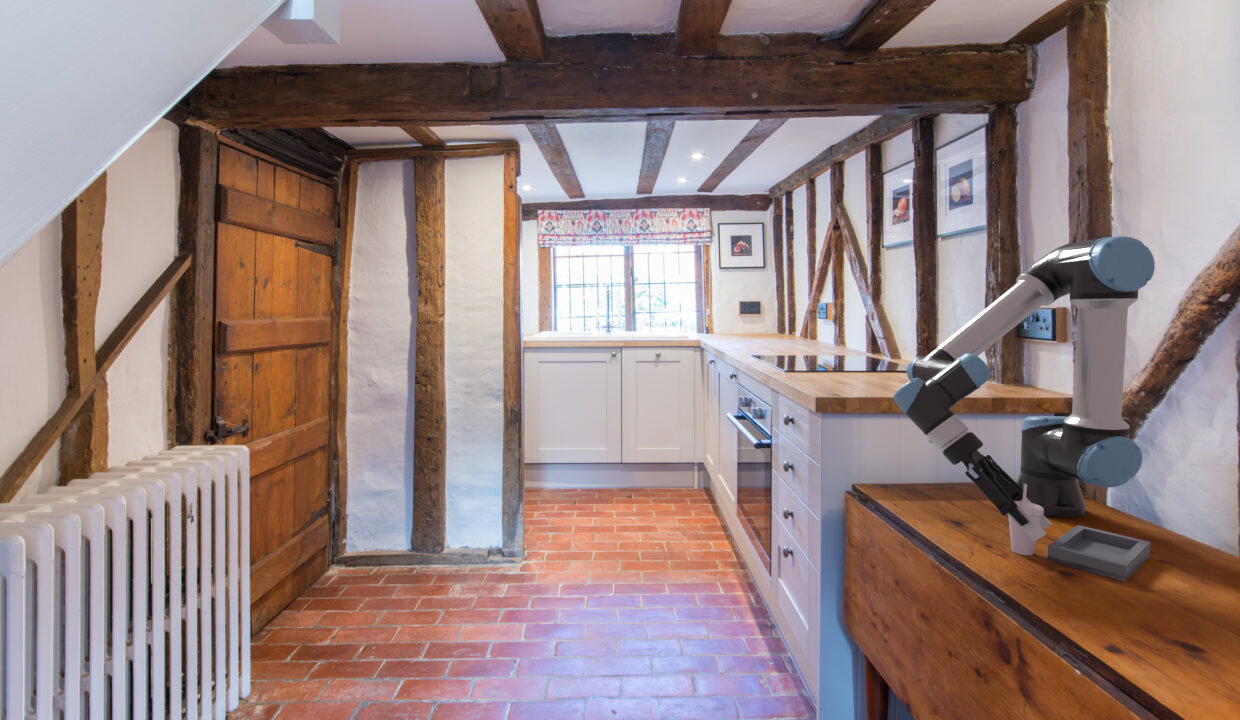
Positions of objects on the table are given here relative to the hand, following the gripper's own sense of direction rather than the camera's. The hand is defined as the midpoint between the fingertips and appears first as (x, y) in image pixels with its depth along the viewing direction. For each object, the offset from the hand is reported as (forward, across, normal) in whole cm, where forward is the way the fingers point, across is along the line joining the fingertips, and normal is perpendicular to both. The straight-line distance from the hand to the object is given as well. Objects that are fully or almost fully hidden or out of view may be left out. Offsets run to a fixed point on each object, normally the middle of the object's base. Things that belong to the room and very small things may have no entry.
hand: (1042, 532), depth 120 cm
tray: (+10, -6, +3) cm, 12 cm away
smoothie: (+1, 0, -6) cm, 6 cm away
